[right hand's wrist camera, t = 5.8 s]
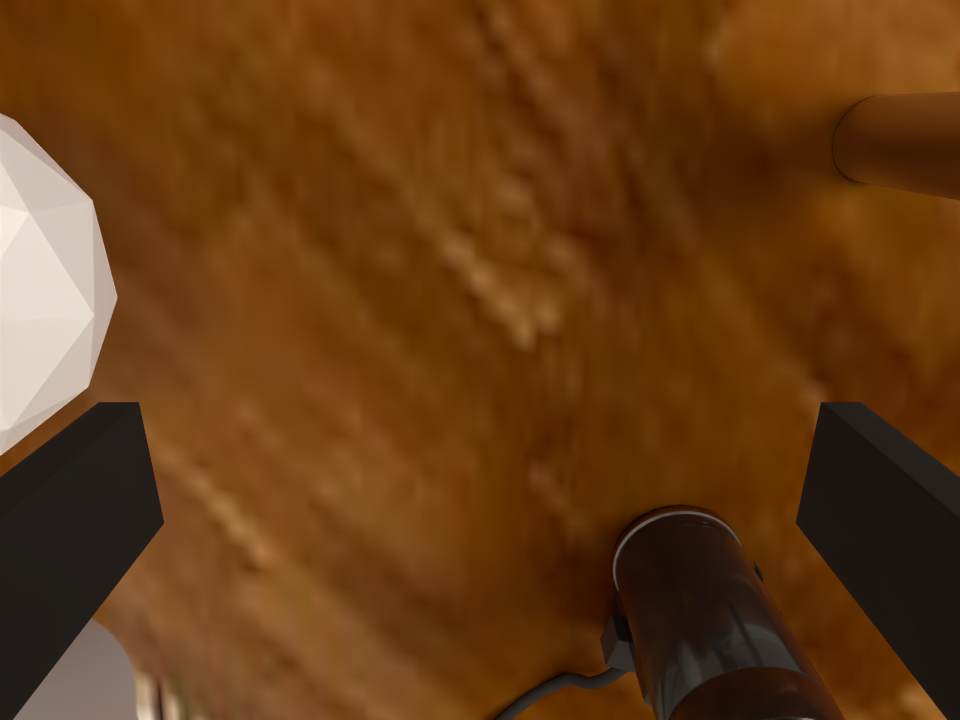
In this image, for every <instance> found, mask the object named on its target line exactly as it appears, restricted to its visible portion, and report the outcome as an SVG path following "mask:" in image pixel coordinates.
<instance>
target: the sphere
mask: <svg viewBox="0 0 960 720" xmlns="http://www.w3.org/2000/svg"><path fill="white" fill-rule="evenodd" d="M117 298H118V297H117V294H116V290H115V286H114V282H113V278H112V274H111V270H110V267H109V263H108V259H107V255H106V251H105V247H104V243H103V239H102V236H101V232H100V228H99V224H98V220H97V216H96V212H95V209H94V205H93V201H92V200H91V198H90V197H89V196H88V195H87V194H86V193H85V192H84V191H83V190H82V189H81V188H80V187H79V186H78V185H77V184H76V183H75V182H74V181H73V180H72V179H71V178H70V177H69V176H68V175H67V174H66V173H65V172H64V170H63V169H62V168H61V167H60V166H59V165H58V164H57V163H56V162H55V161H54V160H53V159H52V158H51V157H50V156H49V155H48V154H47V153H46V152H45V151H44V150H43V149H42V148H41V147H40V146H39V145H38V144H37V142H36V141H35V140H34V139H33V138H32V137H31V136H30V135H29V134H28V133H27V132H26V131H25V130H24V129H23V128H22V127H21V126H20V125H19V124H18V123H17V122H16V121H15V120H13V119H11V118H9V117H7V116H5V115H3V114H1V113H0V455H2V454H3V453H5V452H6V451H7V450H9V449H10V448H11V447H12V446H14V445H15V444H16V443H17V442H19V441H20V440H21V439H23V438H24V437H25V436H26V435H28V434H29V433H30V432H31V431H33V430H34V429H35V428H37V427H38V426H39V425H40V424H42V423H43V422H44V421H46V420H47V419H48V418H49V417H51V416H52V415H53V414H54V413H56V412H57V411H58V410H60V409H61V408H62V407H63V406H65V405H66V404H67V403H68V402H70V401H71V400H72V399H74V398H75V397H76V396H77V395H79V394H80V393H81V392H82V391H84V390H85V389H86V388H88V386H89V383H90V380H91V377H92V374H93V371H94V368H95V365H96V362H97V359H98V356H99V353H100V350H101V347H102V344H103V341H104V338H105V335H106V332H107V328H108V325H109V322H110V319H111V316H112V313H113V310H114V307H115V304H116V301H117Z"/></svg>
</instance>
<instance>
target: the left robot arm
mask: <svg viewBox="0 0 960 720" xmlns="http://www.w3.org/2000/svg"><path fill="white" fill-rule="evenodd" d="M754 565H755V569H754V567H753V565H752V564H751V562H750V560H749V559H748V557H747V556H746V554H745V552H744V551H743V549H742V546H741V544H740V541H739V539H738V538H737V536H736V534H735V533H734V531H733V529H732V528H731V527H730V526H729V524H728V523H727V522H726V521H724V520H723V519H722V518H721V517H719V516H718V515H716V514H714V513H712V512H710V511H707V510H705V509H701V508H697V507H690V506H674V507H667V508H663V509H659V510H656V511H654V512H651V513H649V514H647V515H645V516H643V517H641V518H640V519H638V520H637V521H635V522H634V523H633V524H631V525H630V526H629V527H628V528H627V529H626V530H625V531H624V533H623V534H622V535H621V536H620V538H619V540H618V541H617V543H616V545H615V548H614V550H613V554H612V560H611V569H612V574H613V578H614V582H615V585H616V587H617V590H618V591H617V593H616V595H615V599H616V603H617V606H618V610H619V613H620V616H618V615H614V614H611V616H610V619H609V621H608V623H607V625H606V627H605V630H604V632H603V634H602V636H601V638H600V641H601V645H602V649H603V654H604V658H605V662H606V666H608V667H611V668H610V669H608V670H607V671H605V672H603V673H601V674H599V675H596V676H592V677H587V676H583V675H580V674H574V673H569V674H564V675H561V676H558V677H556V678H553V679H551V680H549V681H547V682H545V683H543V684H541V685H539V686H538V687H536V688H534V689H533V690H531V691H530V692H528V693H527V694H525V695H524V696H522V697H521V698H520V699H518V700H517V701H516V702H514V703H513V704H512V705H511V706H510V707H508V708H507V709H506V710H505V711H504V712H503V713H502V714H501V715H500V716H499V717H497V718H496V719H495V720H512V719H514V718H515V717H516V716H517V715H518V714H519V713H521V712H522V711H523V710H524V709H526V708H527V707H528V706H530V705H531V704H533V703H534V702H536V701H537V700H539V699H540V698H542V697H544V696H546V695H547V694H550V693H552V692H554V691H556V690H559V689H561V688H564V687H567V686H570V685H575V686H578V687H581V688H585V689H597V688H601V687H604V686H606V685H608V684H610V683H612V682H614V681H615V680H617V679H618V678H620V677H621V676H623V675H624V674H625V673H627V672H628V671H631V672H636V674H637V678H638V681H639V685H640V689H641V692H642V696H643V699H644V701H645V702H646V703H647V704H648V705H649V706H651V707H652V708H653V711H654V715H655V718H656V720H845V718H844V716H843V715H842V713H841V711H840V710H839V708H838V706H837V705H836V703H835V701H834V700H833V698H832V697H831V695H830V693H829V692H828V690H827V688H826V687H825V685H824V683H823V682H822V680H821V678H820V677H819V675H818V673H817V672H816V670H815V668H814V667H813V665H812V663H811V662H810V660H809V658H808V657H807V655H806V653H805V652H804V650H803V648H802V647H801V645H800V644H799V642H798V640H797V639H796V637H795V635H794V634H793V632H792V630H791V629H790V627H789V625H788V624H787V622H786V620H785V619H784V617H783V615H782V614H781V612H780V610H779V609H778V607H777V605H776V604H775V602H774V600H773V599H772V597H771V595H770V594H769V592H768V590H767V589H766V587H765V585H764V583H763V577H762V573H761V572H760V570H759V568H758V567H757V565H756V563H755V562H754Z"/></svg>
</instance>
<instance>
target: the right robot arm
mask: <svg viewBox="0 0 960 720" xmlns="http://www.w3.org/2000/svg"><path fill="white" fill-rule="evenodd" d="M163 524H164V520H163V515H162V510H161V506H160V501H159V496H158V491H157V486H156V482H155V477H154V472H153V467H152V463H151V458H150V453H149V448H148V444H147V439H146V434H145V429H144V425H143V420H142V415H141V410H140V406H139V402H99V403H97V404H96V405H95V406H94V407H92V408H91V409H90V410H88V411H87V412H86V413H84V414H83V415H82V416H80V417H79V418H78V419H76V420H75V421H74V422H72V423H71V424H70V425H69V426H67V427H66V428H65V429H63V430H62V431H61V432H59V433H58V434H57V435H55V436H54V437H53V438H51V439H50V440H49V441H47V442H46V443H45V444H44V445H42V446H41V447H40V448H38V449H37V450H36V451H34V452H33V453H32V454H30V455H29V456H28V457H26V458H25V459H24V460H22V461H21V462H20V463H19V464H17V465H16V466H15V467H13V468H12V469H11V470H9V471H8V472H7V473H5V474H4V475H3V476H1V477H0V720H13V719H14V717H15V716H16V715H17V713H18V712H19V711H20V710H21V708H22V707H23V706H24V704H25V703H26V702H27V701H28V699H29V698H30V697H31V695H32V694H33V693H34V691H35V690H36V689H37V688H38V686H39V685H40V684H41V682H42V681H43V680H44V678H45V677H46V676H47V675H48V673H49V672H50V671H51V669H52V668H53V667H54V665H55V664H56V663H57V662H58V660H59V659H60V658H61V656H62V655H63V654H64V652H65V651H66V650H67V649H68V647H69V646H70V645H71V643H72V642H73V641H74V639H75V638H76V637H77V636H78V634H79V633H80V632H81V630H82V629H83V628H84V626H85V625H86V624H87V623H88V621H89V620H90V619H91V617H92V616H93V615H94V614H95V612H96V611H97V610H98V608H99V607H100V606H101V604H102V603H103V602H104V601H105V599H106V598H107V597H108V595H109V594H110V593H111V591H112V590H113V589H114V588H115V586H116V585H117V584H118V582H119V581H120V580H121V578H122V577H123V576H124V575H125V573H126V572H127V571H128V569H129V568H130V567H131V565H132V564H133V563H134V562H135V560H136V559H137V558H138V556H139V555H140V554H141V552H142V551H143V550H144V549H145V547H146V546H147V545H148V543H149V542H150V541H151V539H152V538H153V537H154V536H155V534H156V533H157V532H158V530H159V529H160V528H161V526H162V525H163ZM796 524H797V525H798V526H799V528H800V529H801V530H802V532H803V533H804V534H805V536H806V537H807V538H808V539H809V541H810V542H811V543H812V545H813V546H814V547H815V549H816V550H817V551H818V552H819V554H820V555H821V556H822V558H823V559H824V560H825V562H826V563H827V564H828V565H829V567H830V568H831V569H832V571H833V572H834V573H835V575H836V576H837V577H838V578H839V580H840V581H841V582H842V584H843V585H844V586H845V588H846V589H847V590H848V591H849V593H850V594H851V595H852V597H853V598H854V599H855V601H856V602H857V603H858V604H859V606H860V607H861V608H862V610H863V611H864V612H865V614H866V615H867V616H868V617H869V619H870V620H871V621H872V623H873V624H874V625H875V627H876V628H877V629H878V630H879V632H880V633H881V634H882V636H883V637H884V638H885V639H886V641H887V642H888V643H889V645H890V646H891V647H892V649H893V650H894V651H895V652H896V654H897V655H898V656H899V658H900V659H901V660H902V662H903V663H904V664H905V665H906V667H907V668H908V669H909V671H910V672H911V673H912V675H913V676H914V677H915V678H916V680H917V681H918V682H919V684H920V685H921V686H922V688H923V689H924V690H925V691H926V693H927V694H928V695H929V697H930V698H931V699H932V701H933V702H934V703H935V704H936V706H937V707H938V708H939V710H940V711H941V712H942V714H943V715H944V716H945V717H946V719H947V720H960V477H959V476H957V475H956V474H955V473H953V472H952V471H951V470H949V469H948V468H947V467H945V466H944V465H943V464H941V463H940V462H939V461H938V460H936V459H935V458H934V457H932V456H931V455H930V454H928V453H927V452H926V451H924V450H923V449H922V448H920V447H919V446H918V445H916V444H915V443H914V442H913V441H911V440H910V439H909V438H907V437H906V436H905V435H903V434H902V433H901V432H899V431H898V430H897V429H895V428H894V427H893V426H891V425H890V424H889V423H888V422H886V421H885V420H884V419H882V418H881V417H880V416H878V415H877V414H876V413H874V412H873V411H872V410H870V409H869V408H868V407H866V406H865V405H864V404H863V403H861V402H821V406H820V410H819V415H818V420H817V425H816V429H815V434H814V439H813V444H812V448H811V453H810V458H809V463H808V467H807V472H806V477H805V482H804V486H803V491H802V496H801V501H800V505H799V510H798V515H797V520H796Z"/></svg>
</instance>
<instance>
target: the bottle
mask: <svg viewBox="0 0 960 720" xmlns="http://www.w3.org/2000/svg"><path fill="white" fill-rule="evenodd" d="M832 151H833V157H834V161H835V163H836V165H837V167H838V169H839V170H840V171H841V172H842V174H844V175H845V176H846V177H848V178H849V179H851V180H854V181H857V182H862V183H867V184H873V185H878V186H884V187H889V188H895V189H900V190H906V191H911V192H917V193H922V194H927V195H933V196H938V197H944V198H949V199H955V200H960V92H942V93H919V94H896V95H878V96H873V97H870V98H867V99H865V100H863V101H861V102H860V103H858V104H856V105H855V106H854V107H853V108H851V109H850V110H849V111H848V112H847V113H846V115H845V116H844V117H843V118H842V120H841V121H840V123H839V125H838V127H837V129H836V132H835V135H834V138H833V147H832Z"/></svg>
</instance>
